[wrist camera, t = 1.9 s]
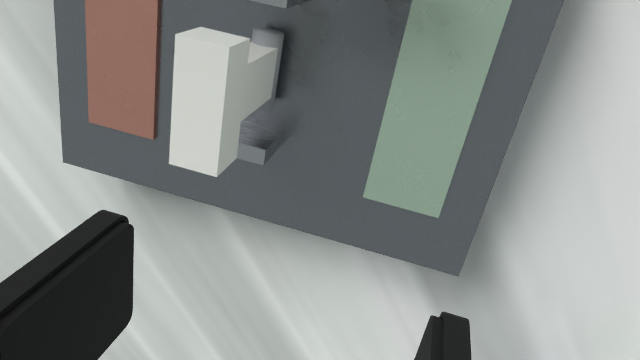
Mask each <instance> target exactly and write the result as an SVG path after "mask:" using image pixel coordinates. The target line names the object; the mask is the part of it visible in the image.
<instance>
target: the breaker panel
mask: <svg viewBox="0 0 640 360" xmlns="http://www.w3.org/2000/svg"><path fill="white" fill-rule="evenodd" d="M563 1H564V0H54V13H55V31H56V48H57V65H58V83H59V100H60V118H61V135H62V152H63V162H64V163H68V164H71V165H75V166H78V167H82V168H85V169H89V170H92V171H95V172H99V173H102V174H106V175H109V176H113V177H116V178H120V179H123V180H127V181H130V182H134V183H137V184H141V185H144V186H147V187H151V188H154V189H158V190H161V191H165V192H168V193H172V194H175V195H179V196H182V197H186V198H189V199H192V200H196V201H199V202H203V203H206V204H210V205H213V206H217V207H220V208H224V209H227V210H231V211H234V212H238V213H241V214H244V215H248V216H251V217H255V218H258V219H262V220H265V221H269V222H272V223H276V224H279V225H283V226H286V227H290V228H293V229H296V230H300V231H303V232H307V233H310V234H314V235H317V236H321V237H324V238H328V239H331V240H335V241H338V242H341V243H345V244H348V245H352V246H355V247H359V248H362V249H366V250H369V251H373V252H376V253H380V254H383V255H387V256H390V257H393V258H397V259H400V260H404V261H407V262H411V263H414V264H418V265H421V266H425V267H428V268H432V269H435V270H439V271H442V272H445V273H449V274H452V275H456V276H459V273H460V270H461V268H462V265H463V263H464V260H465V257H466V255H467V252H468V249H469V247H470V244H471V242H472V239H473V236H474V234H475V231H476V229H477V226H478V223H479V221H480V218H481V215H482V213H483V210H484V208H485V205H486V202H487V200H488V197H489V195H490V192H491V189H492V187H493V184H494V181H495V179H496V176H497V174H498V171H499V168H500V166H501V163H502V160H503V158H504V155H505V153H506V150H507V147H508V145H509V142H510V140H511V137H512V134H513V132H514V129H515V126H516V124H517V121H518V119H519V116H520V113H521V111H522V108H523V106H524V103H525V100H526V98H527V95H528V92H529V90H530V87H531V85H532V82H533V79H534V77H535V74H536V72H537V69H538V66H539V64H540V61H541V58H542V56H543V53H544V51H545V48H546V45H547V43H548V40H549V38H550V35H551V32H552V30H553V27H554V24H555V22H556V19H557V17H558V14H559V11H560V9H561V6H562V4H563ZM198 27H204V28H208V29H213V30H217V31H221V32H225V33H229V34H233V35H238V36H242V37H246V38H250V42H252V34H253V28H256V27H262V28H270V29H275V30H278V31H281V32H283V33H284V40H283V47H282V54H281V61H280V68H279V74H278V81H277V88H276V95H275V102H274V107H273V108H271V109H256V110H255V111H254V112H253V113H251V114H250V115H249V116H248V117H246V118H245V119H244V120H243V121H241V124H240V133H239V141H238V150H237V158H236V159H235V160H234V161H233V162H232V163H231V164H230V165H229V166H228V167H227V168H226V169H225V170H224V171H223V172H222V173H221V174H220V175H219V176H217V177H214V176H211V175H207V174H203V173H200V172H196V171H193V170H189V169H186V168H182V167H178V166H175V165H171V164H169V152H170V132H171V111H172V91H173V70H174V50H175V34H178V33H181V32H185V31H188V30H192V29H195V28H198Z"/></svg>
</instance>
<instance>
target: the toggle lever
mask: <svg viewBox="0 0 640 360" xmlns="http://www.w3.org/2000/svg"><path fill="white" fill-rule="evenodd" d="M283 40H284V33H283V32H281V31H278V30H275V29H270V28H262V27H256V28H253V34H252V42H250V38H246V37H242V36H238V35H233V34H229V33H225V32H221V31H217V30H213V29H208V28H204V27H198V28H195V29H192V30H188V31H185V32H181V33H178V34H175V50H174V70H173V91H172V111H171V132H170V152H169V164H171V165H175V166H178V167H182V168H186V169H189V170H193V171H196V172H200V173H203V174H207V175H211V176H214V177H217V176H219V175H220V174H221V173H222V172H223V171H224V170H225V169H226V168H227V167H228V166H229V165H230V164H231V163H232V162H233V161H234V160H235V159H236V158H237V150H238V141H239V133H240V124H241V121H243V120H244V119H245V118H246V117H248V116H249V115H250V114H251V113H253V112H254V111H255V110H256V109H271V108H273V107H274V102H275V95H276V88H277V81H278V74H279V68H280V61H281V54H282V47H283Z"/></svg>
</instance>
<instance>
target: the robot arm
mask: <svg viewBox="0 0 640 360" xmlns="http://www.w3.org/2000/svg"><path fill="white" fill-rule="evenodd" d="M133 252H134V228H133V226H132V225H131V224H129V221H128V218H127V217H125V216H123V215H119V214H116V213H113V212H109V211H106V210H101V211H99V212H97V213H96V214H94V215H93V216H92V217H90V218H89V219H88V220H86V221H85V222H83V223H82V224H81V225H79V226H78V227H77V228H75V229H74V230H72V231H71V232H70V233H68V234H67V235H66V236H64V237H63V238H61V239H60V240H59V241H57V242H56V243H55V244H53V245H52V246H50V247H49V248H48V249H46V250H45V251H44V252H42V253H41V254H39V255H38V256H37V257H35V258H34V259H33V260H31V261H30V262H28V263H27V264H26V265H24V266H23V267H22V268H20V269H19V270H17V271H16V272H15V273H13V274H12V275H11V276H9V277H8V278H7V279H5V280H4V281H2V282H1V283H0V360H98V358H99V357H100V356H101V355H102V354H103V353H104V352H105V350H106V349H107V348H108V347H109V346H110V345H111V344H112V342H113V341H114V340H115V339H116V338H117V337H118V336H119V334H120V333H121V332H122V331H123V330H124V329H125V327H126V326H127V325H128V323H129V321H130V319H131V316H132V311H133ZM414 360H471V344H470V325H469V320H468V319H466V318H463V317H459V316H456V315H453V314H449V313H446V312H442V313H441V315H440V317H436V316H433V315H432V316H431V317H430V319H429V321H428V324H427V327H426V329H425V332H424V335H423V338H422V340H421V343H420V346H419V349H418V351H417V354H416V357H415V359H414Z"/></svg>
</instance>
